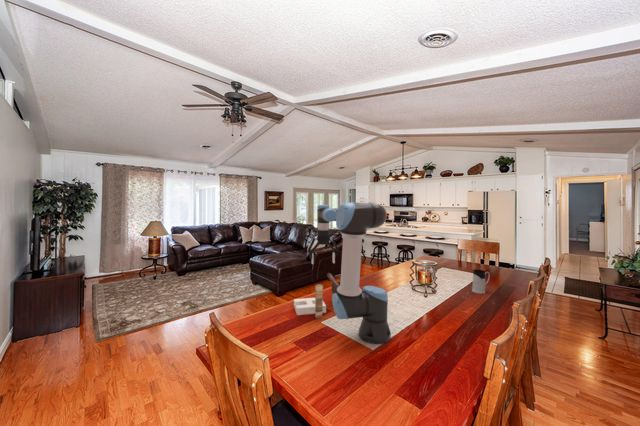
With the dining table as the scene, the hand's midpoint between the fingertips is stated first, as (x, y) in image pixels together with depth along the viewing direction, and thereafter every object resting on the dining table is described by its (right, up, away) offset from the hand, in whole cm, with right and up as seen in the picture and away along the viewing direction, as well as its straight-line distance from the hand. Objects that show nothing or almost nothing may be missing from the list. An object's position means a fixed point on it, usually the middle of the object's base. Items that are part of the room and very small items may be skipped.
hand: (323, 263), depth 166 cm
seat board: (-8, -26, -7) cm, 28 cm away
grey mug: (+116, -26, +28) cm, 122 cm away
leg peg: (-3, -27, -18) cm, 32 cm away
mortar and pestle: (+8, -26, +1) cm, 27 cm away
